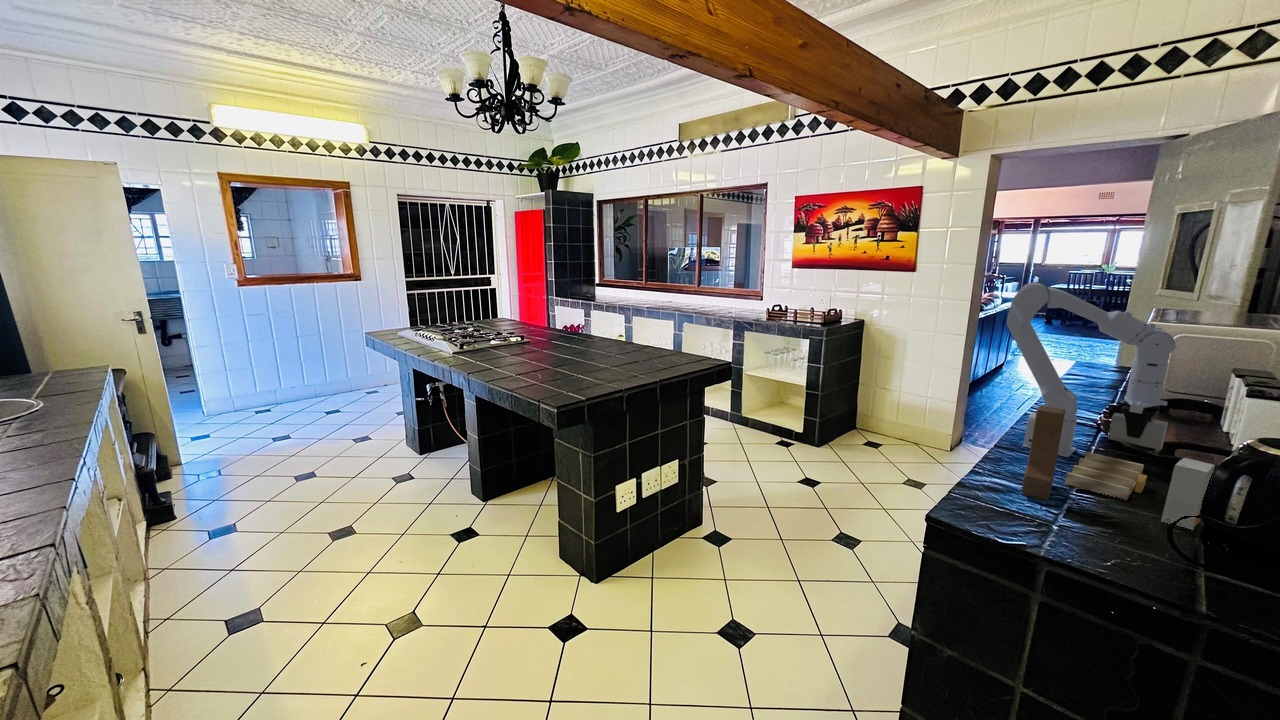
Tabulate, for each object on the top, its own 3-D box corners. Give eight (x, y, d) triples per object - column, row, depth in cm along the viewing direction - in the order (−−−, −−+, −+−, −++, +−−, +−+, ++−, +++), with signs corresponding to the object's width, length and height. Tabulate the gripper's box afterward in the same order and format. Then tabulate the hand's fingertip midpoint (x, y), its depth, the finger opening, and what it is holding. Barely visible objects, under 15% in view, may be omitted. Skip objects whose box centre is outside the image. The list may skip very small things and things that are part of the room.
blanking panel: (1107, 438, 120) (1112, 415, 119) (1110, 435, 122) (1115, 412, 121) (1160, 449, 113) (1166, 425, 112) (1162, 446, 115) (1168, 422, 114)
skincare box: (1192, 532, 90) (1208, 472, 88) (1160, 522, 94) (1173, 464, 91) (1201, 522, 93) (1216, 464, 91) (1169, 513, 97) (1182, 456, 94)
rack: (1064, 483, 110) (1066, 472, 109) (1084, 461, 120) (1086, 451, 120) (1135, 503, 101) (1137, 491, 100) (1149, 477, 112) (1152, 466, 111)
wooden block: (1047, 501, 102) (1062, 419, 98) (1020, 494, 105) (1034, 415, 101) (1051, 486, 109) (1065, 408, 105) (1026, 480, 112) (1038, 404, 108)
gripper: (1166, 389, 107) (1153, 447, 110) (1175, 378, 116) (1163, 432, 119) (1122, 383, 112) (1111, 438, 115) (1134, 372, 121) (1123, 424, 124)
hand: (1134, 435), depth 117 cm, fingers closed on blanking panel, 3 cm apart
